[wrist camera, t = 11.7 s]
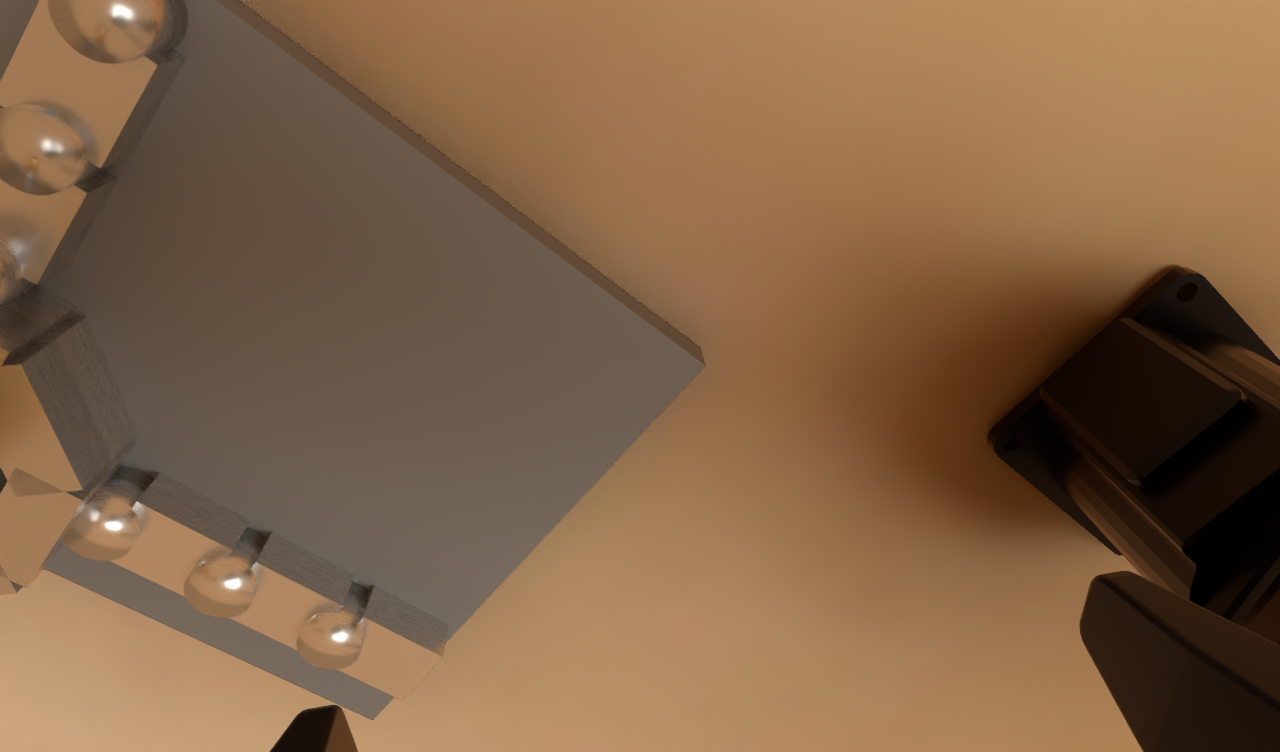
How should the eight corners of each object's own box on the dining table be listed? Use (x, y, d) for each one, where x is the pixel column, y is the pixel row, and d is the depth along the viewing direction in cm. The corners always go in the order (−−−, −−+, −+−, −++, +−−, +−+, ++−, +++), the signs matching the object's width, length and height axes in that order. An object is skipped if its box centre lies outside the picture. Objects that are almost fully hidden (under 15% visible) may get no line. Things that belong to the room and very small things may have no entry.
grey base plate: (700, 348, 20) (705, 366, 20) (379, 693, 25) (372, 720, 24) (7, -175, 15) (-30, -184, 14) (-240, 398, 19) (-280, 419, 18)
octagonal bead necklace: (691, 364, 19) (704, 414, 17) (354, 725, 24) (333, 799, 22) (-65, -196, 14) (-185, -225, 12) (-311, 422, 18) (-428, 482, 16)
